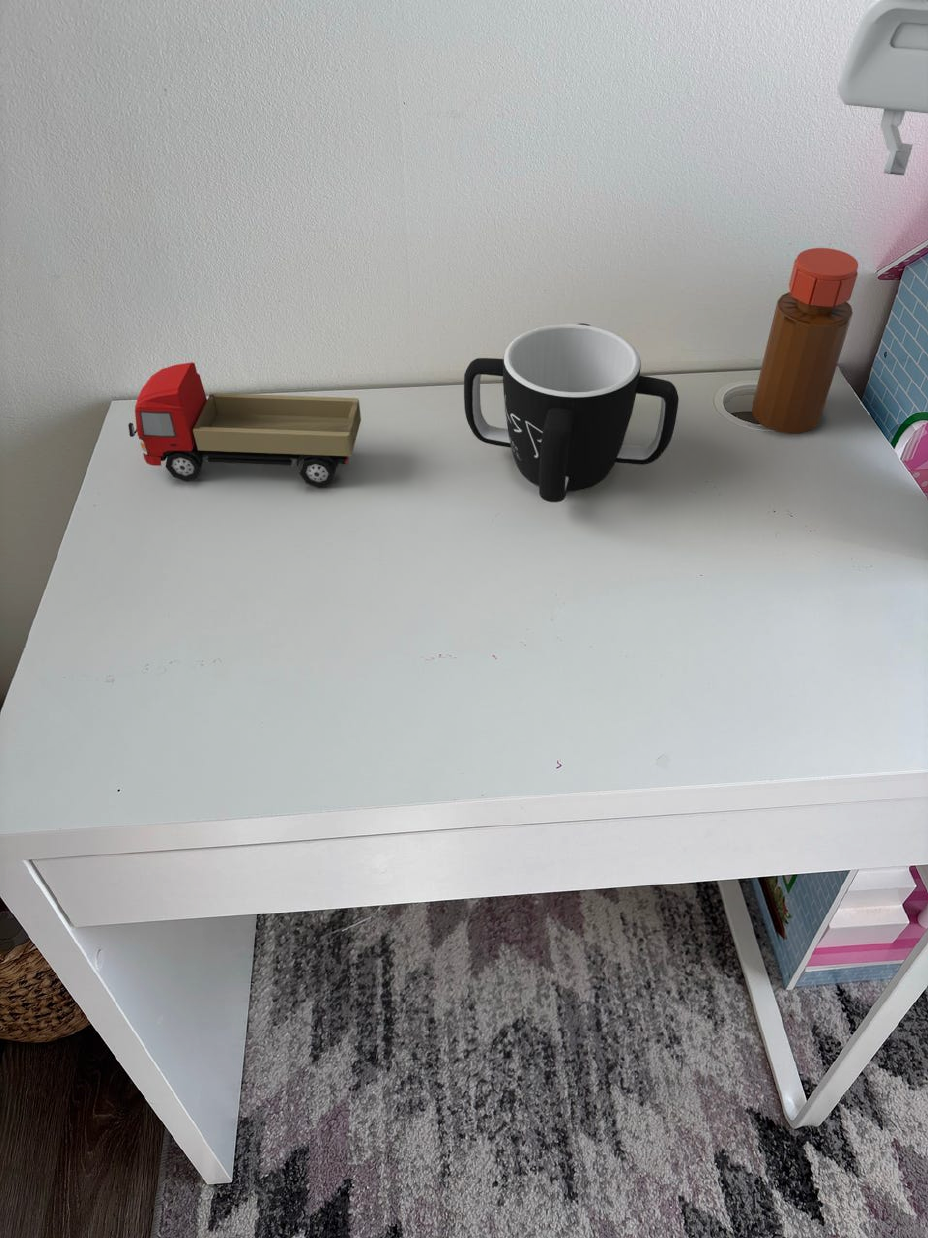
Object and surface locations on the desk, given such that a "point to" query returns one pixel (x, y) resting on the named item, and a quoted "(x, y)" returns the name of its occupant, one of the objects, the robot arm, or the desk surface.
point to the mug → (569, 406)
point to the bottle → (799, 364)
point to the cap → (823, 277)
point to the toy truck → (241, 427)
